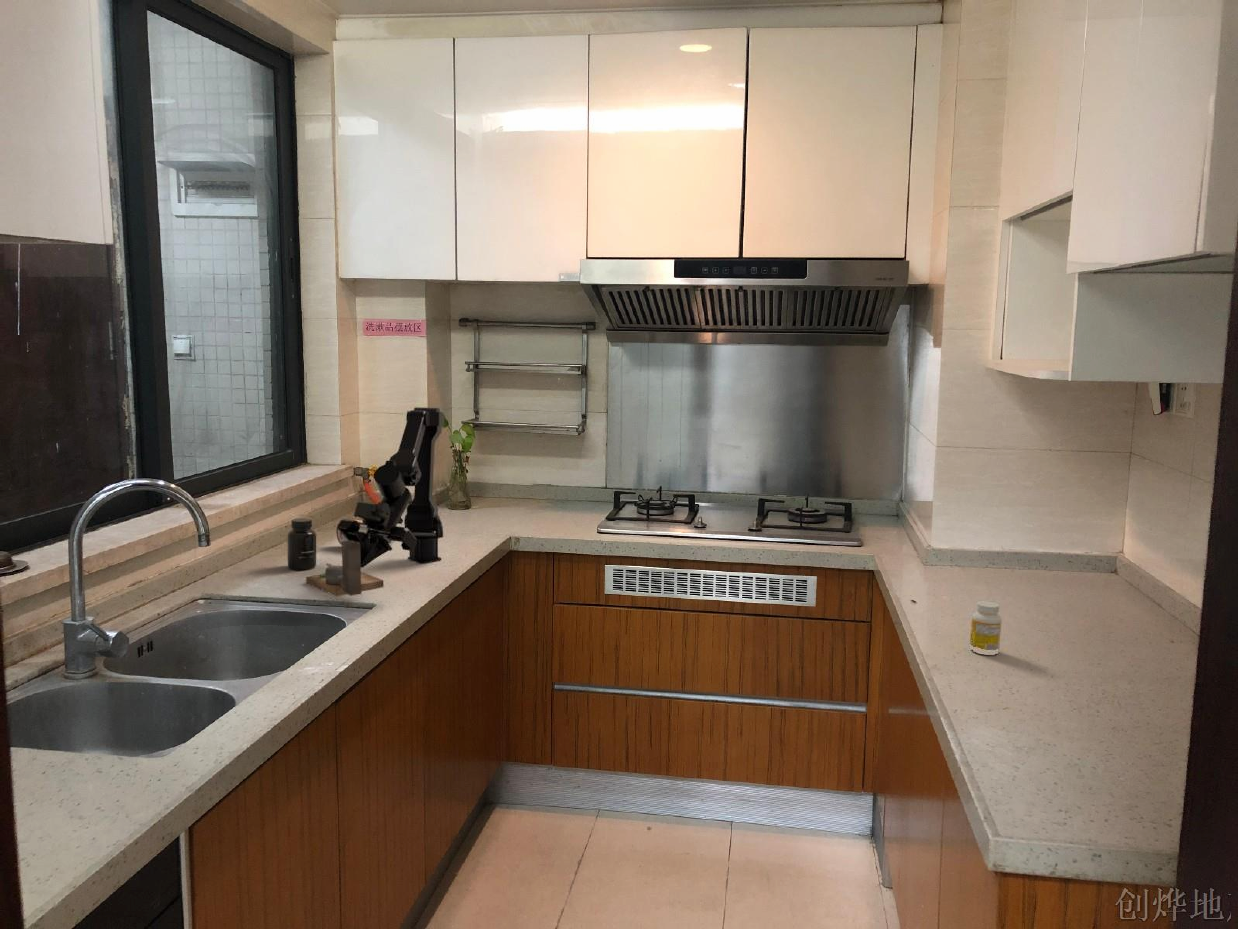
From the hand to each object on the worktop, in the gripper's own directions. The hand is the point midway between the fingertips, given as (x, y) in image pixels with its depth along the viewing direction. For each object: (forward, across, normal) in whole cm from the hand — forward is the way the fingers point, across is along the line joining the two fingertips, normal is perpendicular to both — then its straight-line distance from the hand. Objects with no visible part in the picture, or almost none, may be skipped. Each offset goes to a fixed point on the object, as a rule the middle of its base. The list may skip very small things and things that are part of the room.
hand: (359, 566), depth 205 cm
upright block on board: (+2, -8, +6) cm, 10 cm away
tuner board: (0, -11, +10) cm, 15 cm away
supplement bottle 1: (-5, -30, +16) cm, 35 cm away
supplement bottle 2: (-17, +127, +28) cm, 131 cm away
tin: (-19, -30, +31) cm, 47 cm away
